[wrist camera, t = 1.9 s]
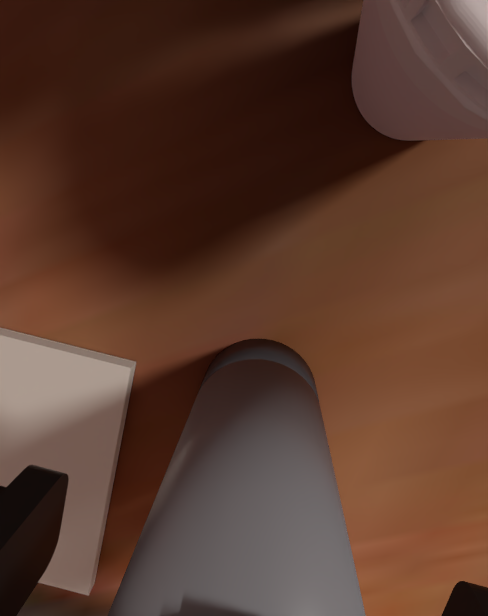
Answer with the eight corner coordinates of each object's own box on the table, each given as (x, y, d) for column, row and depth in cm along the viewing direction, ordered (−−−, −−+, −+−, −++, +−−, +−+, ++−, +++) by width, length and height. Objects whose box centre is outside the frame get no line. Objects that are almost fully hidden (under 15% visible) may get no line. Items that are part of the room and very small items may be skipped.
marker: (214, 323, 15) (4, 738, 3) (333, 352, 15) (534, 877, 3) (189, 429, 16) (-37, 1028, 4) (300, 457, 16) (367, 1138, 4)
